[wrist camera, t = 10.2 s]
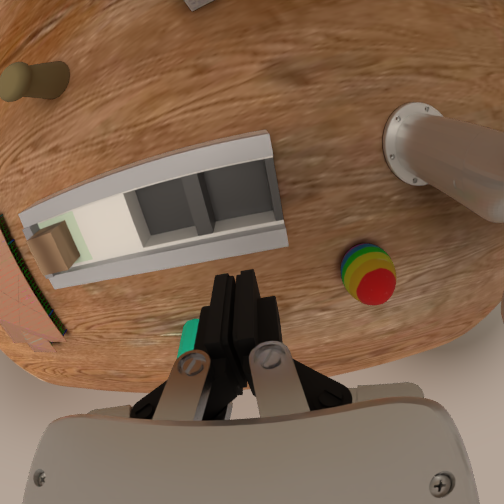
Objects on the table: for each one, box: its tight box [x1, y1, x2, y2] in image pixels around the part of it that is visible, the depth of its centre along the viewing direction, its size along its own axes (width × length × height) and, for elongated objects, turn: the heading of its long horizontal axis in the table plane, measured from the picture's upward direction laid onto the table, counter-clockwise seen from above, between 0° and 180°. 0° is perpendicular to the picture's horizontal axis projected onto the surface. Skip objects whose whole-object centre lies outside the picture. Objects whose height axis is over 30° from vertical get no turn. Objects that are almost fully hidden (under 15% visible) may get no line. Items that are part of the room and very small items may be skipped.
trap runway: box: [18, 130, 289, 289], centre depth 35 cm, size 38×14×6 cm, turn 101°
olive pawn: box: [0, 61, 70, 102], centre depth 22 cm, size 6×6×11 cm
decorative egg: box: [341, 243, 396, 305], centre depth 39 cm, size 8×8×10 cm
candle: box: [177, 319, 199, 358], centre depth 44 cm, size 6×6×12 cm
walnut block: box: [26, 220, 81, 276], centre depth 34 cm, size 6×6×4 cm
